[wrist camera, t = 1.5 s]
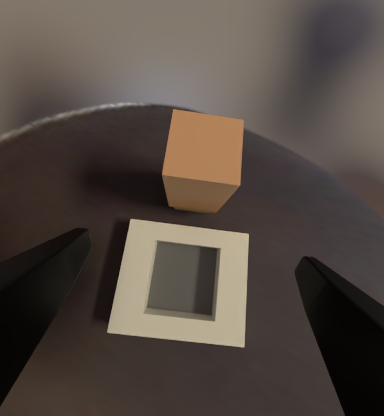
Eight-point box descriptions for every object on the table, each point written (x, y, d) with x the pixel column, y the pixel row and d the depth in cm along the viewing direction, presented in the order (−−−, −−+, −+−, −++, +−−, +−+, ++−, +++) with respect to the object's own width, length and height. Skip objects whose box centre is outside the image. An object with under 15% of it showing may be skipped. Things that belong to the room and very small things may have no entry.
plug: (212, 217, 21) (240, 185, 11) (170, 212, 21) (161, 174, 11) (215, 178, 22) (243, 119, 12) (176, 173, 22) (173, 109, 12)
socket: (237, 337, 18) (244, 347, 16) (114, 324, 18) (107, 332, 16) (242, 235, 20) (248, 234, 19) (135, 222, 20) (130, 218, 18)
